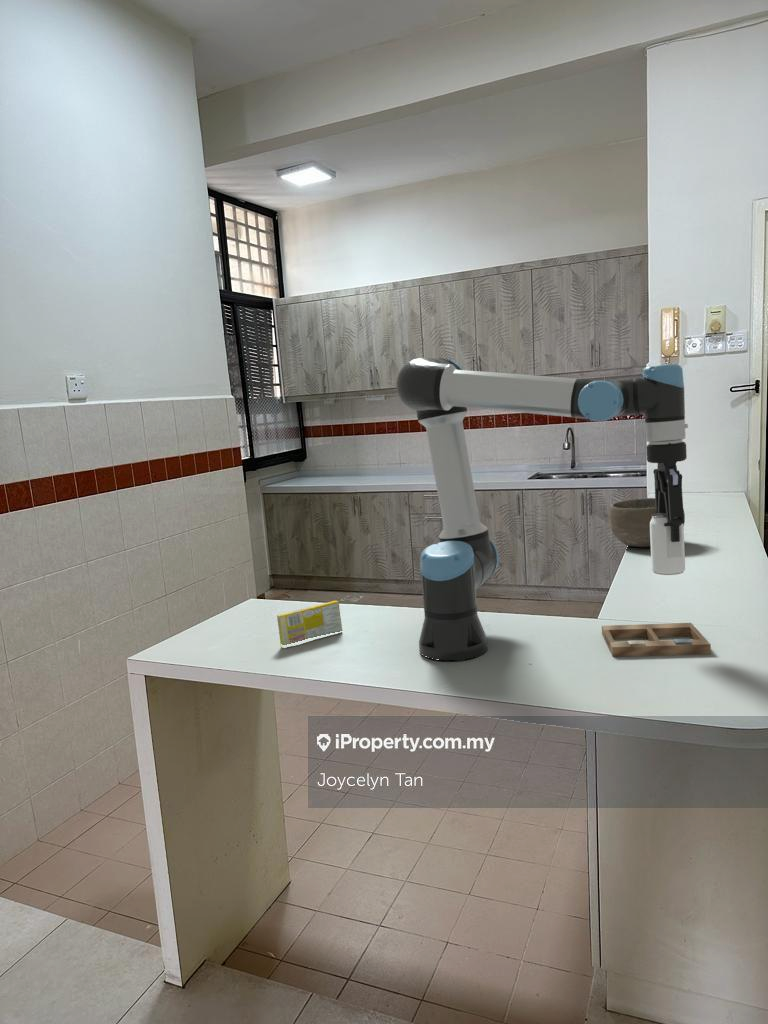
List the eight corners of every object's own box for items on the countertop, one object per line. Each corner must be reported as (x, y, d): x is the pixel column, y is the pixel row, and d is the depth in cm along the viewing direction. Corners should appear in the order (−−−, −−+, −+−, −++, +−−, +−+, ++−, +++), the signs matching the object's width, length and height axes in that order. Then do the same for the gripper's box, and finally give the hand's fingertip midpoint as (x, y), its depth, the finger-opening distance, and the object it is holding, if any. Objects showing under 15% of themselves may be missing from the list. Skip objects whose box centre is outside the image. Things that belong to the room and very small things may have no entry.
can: (688, 574, 142) (685, 516, 140) (654, 576, 144) (651, 518, 142) (682, 567, 148) (680, 511, 147) (649, 568, 150) (647, 513, 148)
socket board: (612, 656, 144) (612, 645, 143) (602, 634, 157) (601, 624, 157) (710, 653, 141) (710, 642, 140) (691, 631, 154) (690, 620, 154)
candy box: (339, 631, 176) (335, 599, 175) (343, 633, 175) (340, 601, 173) (280, 647, 168) (276, 614, 167) (283, 649, 166) (280, 616, 165)
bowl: (622, 537, 259) (621, 497, 257) (692, 539, 245) (691, 497, 243) (600, 550, 240) (598, 507, 238) (675, 554, 226) (673, 508, 224)
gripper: (698, 443, 132) (703, 562, 135) (673, 438, 151) (677, 542, 154) (657, 446, 133) (662, 564, 137) (637, 441, 152) (642, 545, 155)
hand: (670, 553), depth 145 cm, fingers closed on can, 6 cm apart
